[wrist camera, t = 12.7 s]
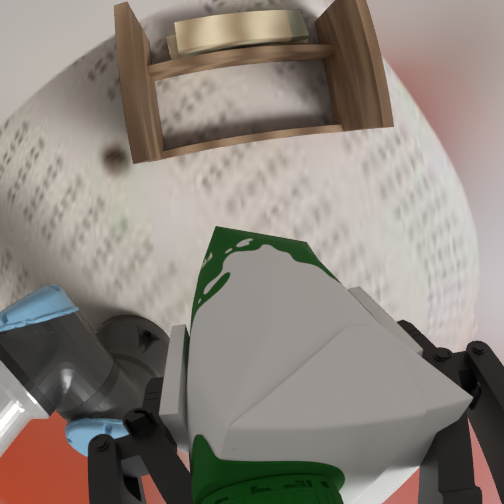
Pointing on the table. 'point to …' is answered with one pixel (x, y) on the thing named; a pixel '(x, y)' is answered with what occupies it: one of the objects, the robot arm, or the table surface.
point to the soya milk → (300, 384)
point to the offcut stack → (237, 32)
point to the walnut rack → (330, 51)
